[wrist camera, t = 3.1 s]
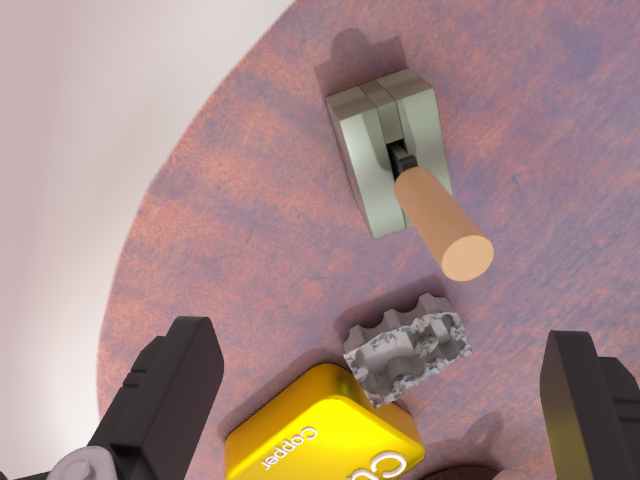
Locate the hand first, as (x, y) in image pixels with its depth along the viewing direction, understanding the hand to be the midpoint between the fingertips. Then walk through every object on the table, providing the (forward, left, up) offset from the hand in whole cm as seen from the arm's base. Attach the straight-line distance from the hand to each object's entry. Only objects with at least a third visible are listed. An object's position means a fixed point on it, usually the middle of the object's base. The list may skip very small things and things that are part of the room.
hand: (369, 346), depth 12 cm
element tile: (+31, +17, -26) cm, 44 cm away
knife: (+1, +9, -26) cm, 27 cm away
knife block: (+1, +9, -26) cm, 27 cm away
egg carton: (+17, +19, -26) cm, 36 cm away
